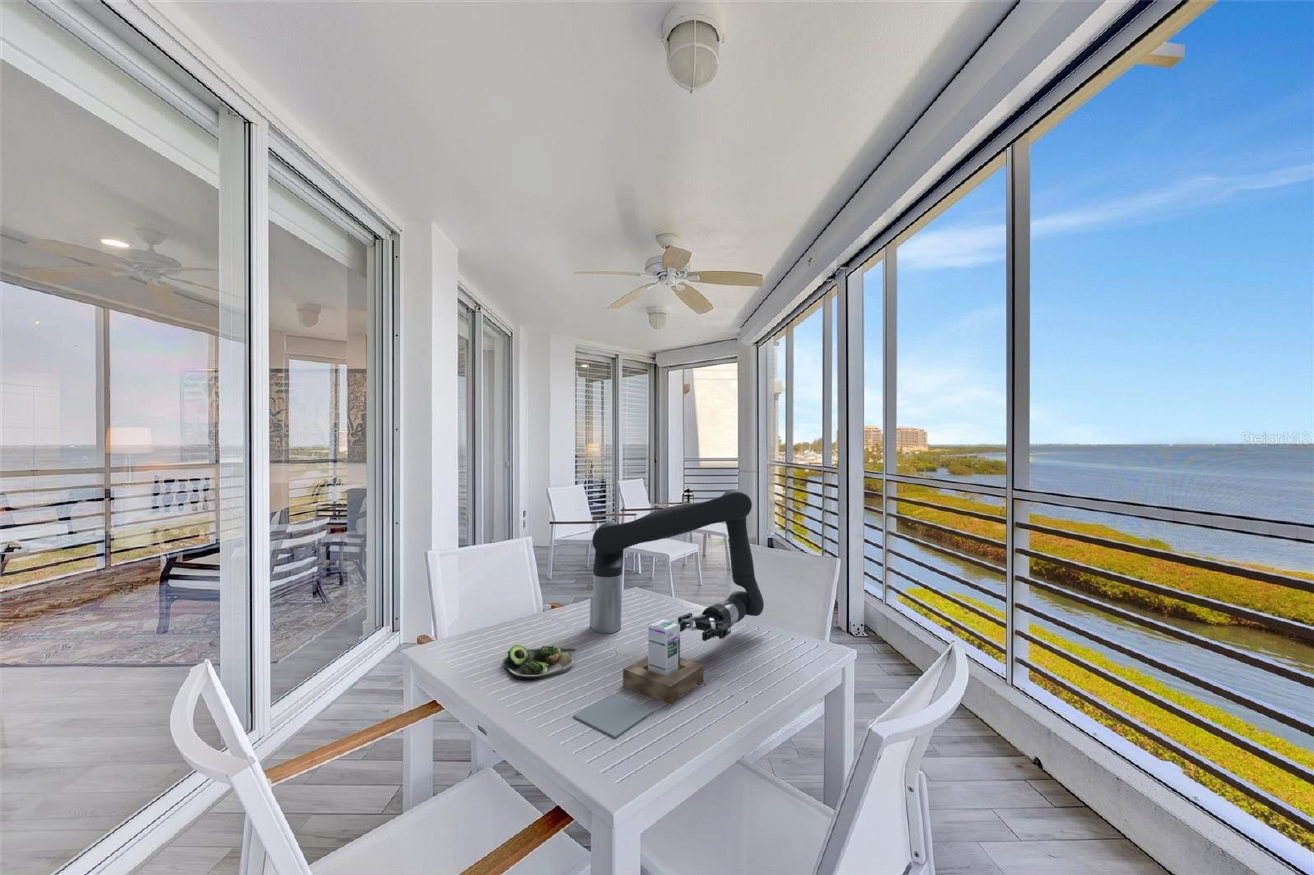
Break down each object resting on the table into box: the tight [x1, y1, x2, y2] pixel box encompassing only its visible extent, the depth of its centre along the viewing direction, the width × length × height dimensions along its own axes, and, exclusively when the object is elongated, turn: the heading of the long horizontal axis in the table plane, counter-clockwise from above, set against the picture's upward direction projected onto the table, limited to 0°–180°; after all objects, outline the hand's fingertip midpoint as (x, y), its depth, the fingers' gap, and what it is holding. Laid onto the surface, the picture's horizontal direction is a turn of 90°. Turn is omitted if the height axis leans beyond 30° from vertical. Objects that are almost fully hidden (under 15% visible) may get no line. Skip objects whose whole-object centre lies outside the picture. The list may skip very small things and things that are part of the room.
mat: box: [572, 693, 654, 740], centre depth 102 cm, size 12×12×1 cm
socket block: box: [622, 655, 705, 705], centre depth 116 cm, size 14×14×4 cm
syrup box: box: [647, 618, 681, 677], centre depth 117 cm, size 6×6×14 cm
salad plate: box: [502, 644, 577, 682], centre depth 127 cm, size 19×18×5 cm
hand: (689, 633), depth 125 cm, fingers open, 8 cm apart
